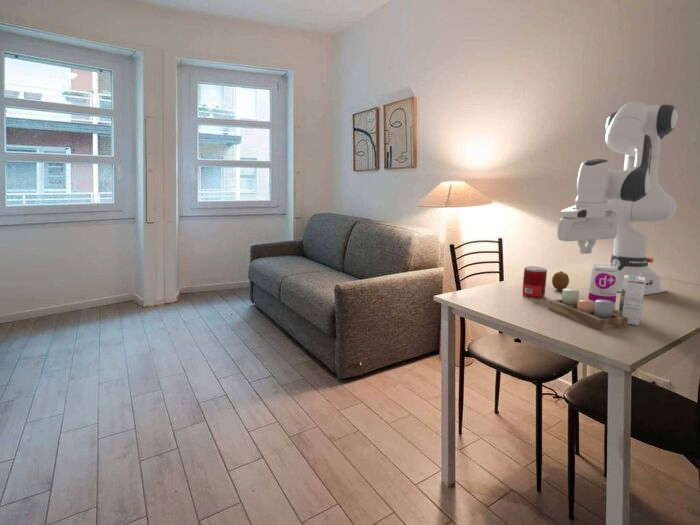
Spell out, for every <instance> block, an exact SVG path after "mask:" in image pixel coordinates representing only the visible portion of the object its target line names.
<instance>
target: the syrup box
mask: <svg viewBox="0 0 700 525" xmlns="http://www.w3.org/2000/svg"><path fill="white" fill-rule="evenodd" d="M645 284H646V278H645V277H640V276H633V275H625V276H624V280H623V286H622V291H621V292H620V298H619V307H618V313H617V314H618V315H621V316H624V317H627V318H628V320H627V325H631V324H632V325H633V326H640V321H641V316H642V315H641V314H642V311H643V302H644V296H645V295H644V291H645ZM632 325H631V326H632Z"/></svg>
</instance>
